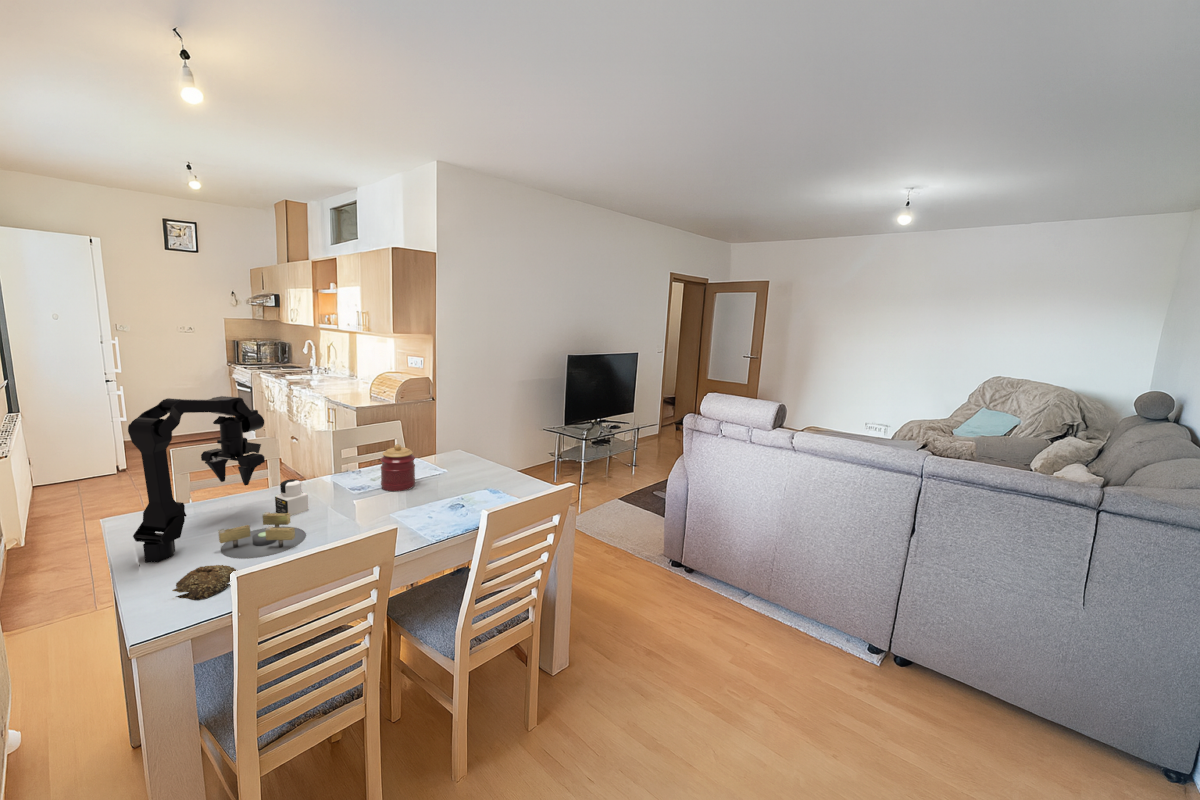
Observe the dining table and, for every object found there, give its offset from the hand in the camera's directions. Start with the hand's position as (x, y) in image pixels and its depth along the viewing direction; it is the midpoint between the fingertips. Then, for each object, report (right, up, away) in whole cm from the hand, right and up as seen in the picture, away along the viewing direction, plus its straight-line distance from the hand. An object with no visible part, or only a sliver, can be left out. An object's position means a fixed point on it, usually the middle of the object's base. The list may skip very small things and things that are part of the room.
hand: (234, 483), depth 157 cm
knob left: (+12, -16, -16) cm, 25 cm away
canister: (+35, -9, +43) cm, 56 cm away
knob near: (+24, -16, -14) cm, 32 cm away
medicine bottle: (+12, -13, +11) cm, 20 cm away
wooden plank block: (+17, -14, -5) cm, 22 cm away
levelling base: (+18, -17, -11) cm, 27 cm away
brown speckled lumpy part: (+17, -21, -33) cm, 43 cm away
